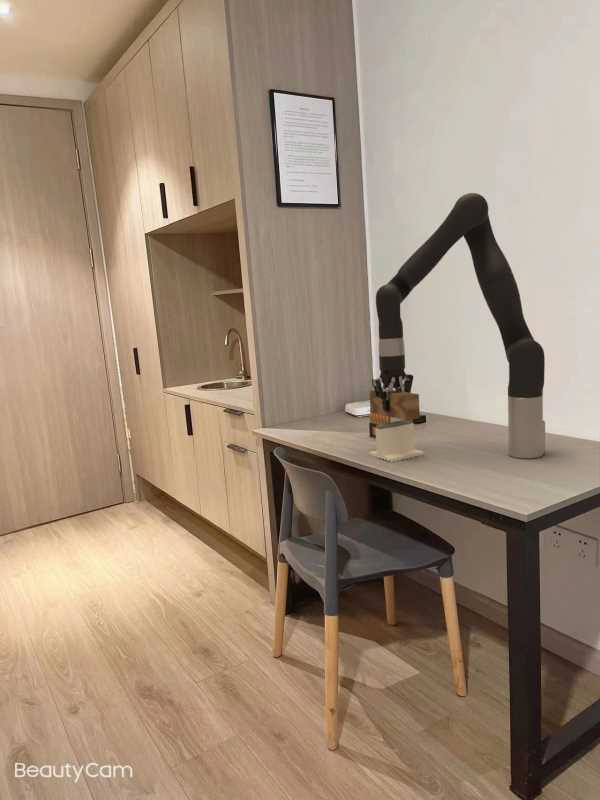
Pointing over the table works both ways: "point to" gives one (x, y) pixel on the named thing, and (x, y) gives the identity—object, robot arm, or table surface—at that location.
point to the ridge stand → (395, 441)
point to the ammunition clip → (377, 422)
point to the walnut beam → (397, 405)
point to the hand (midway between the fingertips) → (394, 410)
